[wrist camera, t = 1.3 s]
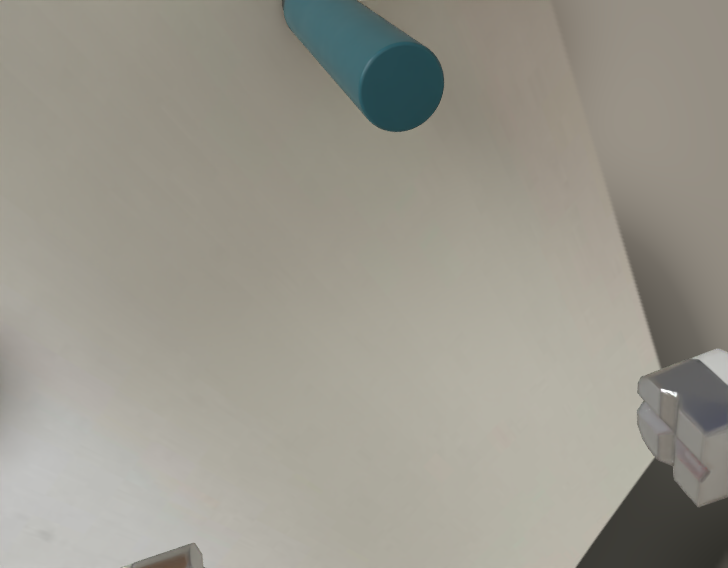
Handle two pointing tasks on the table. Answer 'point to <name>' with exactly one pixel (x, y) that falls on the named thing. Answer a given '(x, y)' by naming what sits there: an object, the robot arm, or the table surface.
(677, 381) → the robot arm
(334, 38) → the marker
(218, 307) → the table surface
